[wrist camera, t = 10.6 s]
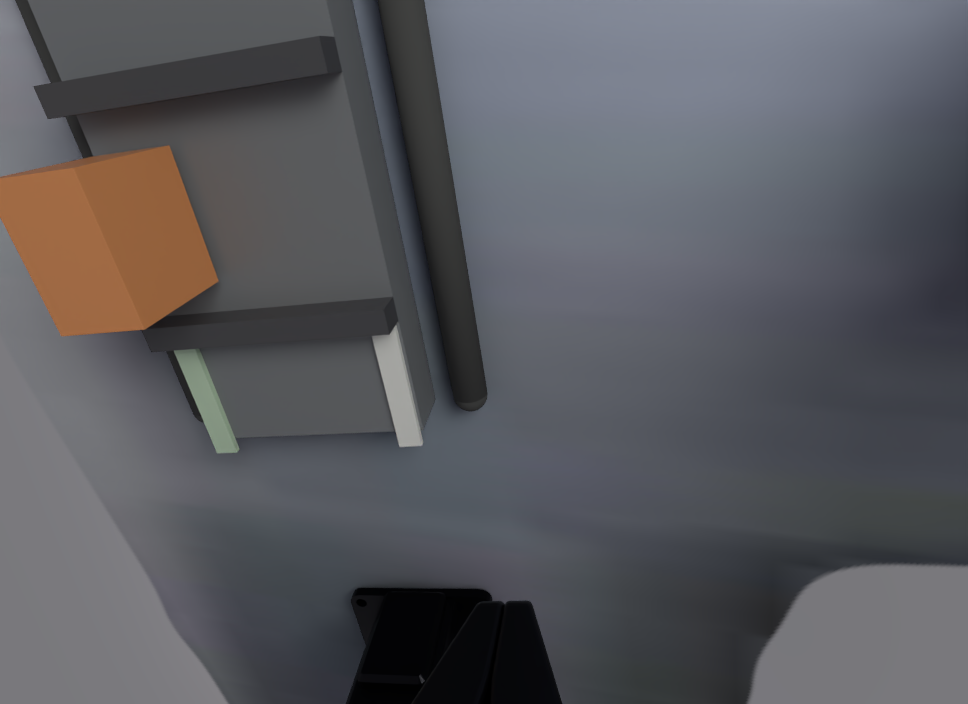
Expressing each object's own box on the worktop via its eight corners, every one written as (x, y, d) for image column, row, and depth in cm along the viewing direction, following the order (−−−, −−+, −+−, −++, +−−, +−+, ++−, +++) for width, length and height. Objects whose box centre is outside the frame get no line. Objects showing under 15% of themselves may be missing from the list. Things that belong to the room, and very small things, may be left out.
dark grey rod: (236, 411, 23) (220, 428, 22) (209, 412, 23) (192, 430, 22) (42, -86, 16) (5, -95, 15) (6, -77, 16) (-34, -86, 15)
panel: (437, 410, 22) (419, 460, 19) (244, 419, 23) (202, 467, 21) (321, -147, 14) (265, -191, 12) (50, -83, 16) (-54, -109, 13)
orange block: (218, 281, 18) (145, 329, 15) (147, 288, 18) (61, 336, 15) (169, 145, 16) (73, 167, 13) (91, 156, 16) (-19, 181, 13)
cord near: (491, 398, 21) (487, 417, 20) (459, 400, 21) (453, 418, 20) (401, -172, 14) (387, -190, 13) (354, -161, 14) (337, -178, 13)
